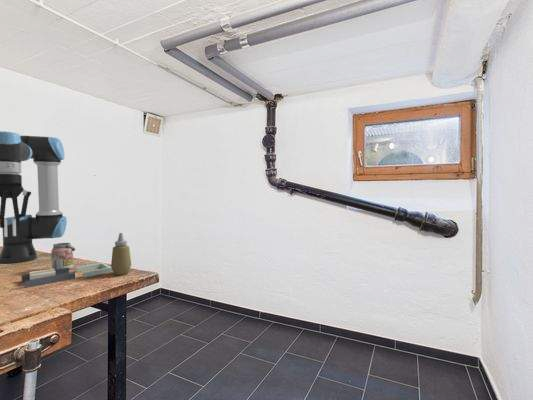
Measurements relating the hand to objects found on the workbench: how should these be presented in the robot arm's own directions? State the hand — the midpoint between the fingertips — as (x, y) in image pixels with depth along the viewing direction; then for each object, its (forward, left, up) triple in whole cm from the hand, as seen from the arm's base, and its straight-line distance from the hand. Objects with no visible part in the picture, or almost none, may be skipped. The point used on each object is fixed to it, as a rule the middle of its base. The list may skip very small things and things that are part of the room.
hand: (10, 235), depth 109 cm
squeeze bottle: (+12, +36, -20) cm, 42 cm away
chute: (0, +12, -19) cm, 23 cm away
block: (0, +10, -20) cm, 22 cm away
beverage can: (-14, +20, -20) cm, 31 cm away
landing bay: (0, +28, -19) cm, 34 cm away
